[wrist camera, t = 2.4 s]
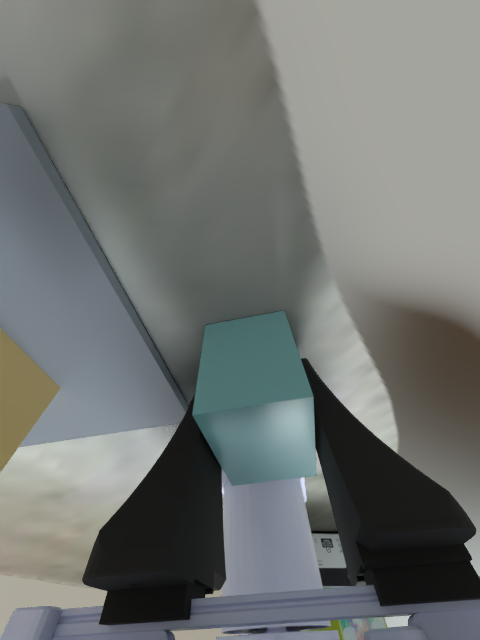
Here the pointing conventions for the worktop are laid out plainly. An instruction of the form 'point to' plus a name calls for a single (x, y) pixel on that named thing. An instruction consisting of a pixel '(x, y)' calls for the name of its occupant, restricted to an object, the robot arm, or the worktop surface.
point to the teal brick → (255, 400)
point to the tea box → (335, 577)
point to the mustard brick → (20, 396)
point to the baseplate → (71, 304)
